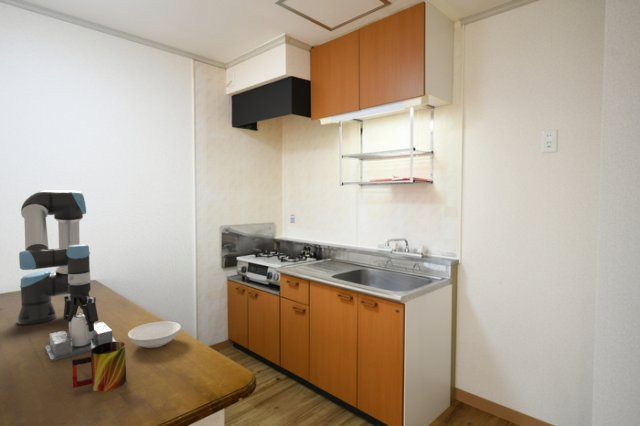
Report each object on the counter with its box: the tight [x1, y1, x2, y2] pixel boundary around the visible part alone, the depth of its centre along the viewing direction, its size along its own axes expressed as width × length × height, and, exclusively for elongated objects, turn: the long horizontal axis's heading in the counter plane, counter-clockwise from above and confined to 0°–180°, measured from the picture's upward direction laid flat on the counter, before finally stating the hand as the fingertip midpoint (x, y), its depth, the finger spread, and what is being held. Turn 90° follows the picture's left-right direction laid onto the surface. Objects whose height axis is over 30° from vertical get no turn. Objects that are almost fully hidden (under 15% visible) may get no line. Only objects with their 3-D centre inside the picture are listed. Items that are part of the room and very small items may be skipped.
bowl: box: [127, 320, 182, 349], centre depth 145 cm, size 20×20×6 cm
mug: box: [71, 341, 127, 393], centre depth 114 cm, size 10×14×12 cm
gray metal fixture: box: [44, 321, 118, 362], centre depth 144 cm, size 16×22×6 cm
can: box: [71, 312, 91, 347], centre depth 144 cm, size 6×6×12 cm
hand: (81, 337), depth 144 cm, fingers open, 8 cm apart
